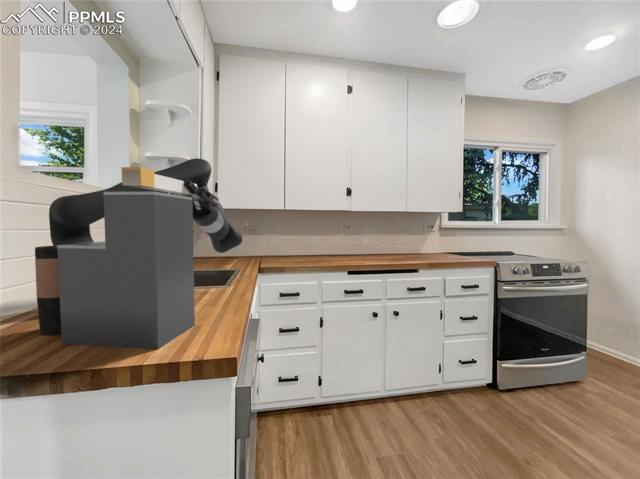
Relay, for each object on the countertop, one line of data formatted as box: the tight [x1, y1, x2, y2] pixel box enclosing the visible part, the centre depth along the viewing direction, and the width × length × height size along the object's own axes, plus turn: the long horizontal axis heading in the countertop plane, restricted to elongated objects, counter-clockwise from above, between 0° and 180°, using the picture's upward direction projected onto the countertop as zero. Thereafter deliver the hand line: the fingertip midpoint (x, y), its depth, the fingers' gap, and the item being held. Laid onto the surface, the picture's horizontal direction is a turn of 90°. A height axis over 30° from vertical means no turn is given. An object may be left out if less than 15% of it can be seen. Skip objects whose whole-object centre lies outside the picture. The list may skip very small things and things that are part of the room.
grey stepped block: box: [57, 192, 196, 350], centre depth 67 cm, size 22×14×32 cm, turn 84°
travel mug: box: [34, 245, 61, 336], centre depth 70 cm, size 8×8×20 cm
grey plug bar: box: [121, 166, 197, 195], centre depth 70 cm, size 4×22×4 cm, turn 174°
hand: (178, 181), depth 75 cm, fingers closed on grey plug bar, 3 cm apart
